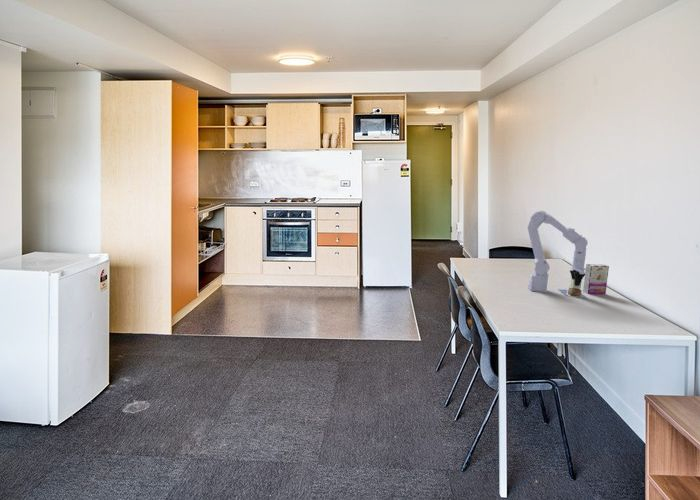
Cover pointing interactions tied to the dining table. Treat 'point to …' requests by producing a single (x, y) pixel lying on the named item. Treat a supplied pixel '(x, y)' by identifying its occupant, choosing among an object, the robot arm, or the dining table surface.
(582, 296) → the blueprint mat
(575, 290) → the brown block
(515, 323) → the dining table surface
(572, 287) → the sage cube
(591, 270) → the candy bar box
